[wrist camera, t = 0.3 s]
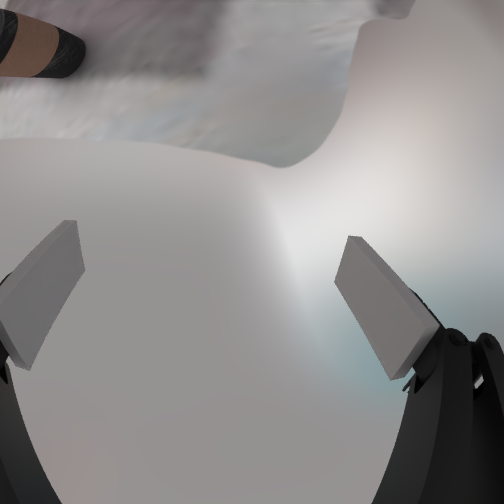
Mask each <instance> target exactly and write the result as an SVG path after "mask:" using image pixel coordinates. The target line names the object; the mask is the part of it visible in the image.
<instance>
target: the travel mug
mask: <svg viewBox="0 0 504 504" xmlns="http://www.w3.org/2000/svg"><path fill="white" fill-rule="evenodd" d="M84 55H85V45H84V43H83V41H82V40H81V39H80V38H78V37H76V36H75V35H73V34H71V33H69V32H67V31H65V30H63V29H60V28H58V27H56V26H54V25H52V24H49V23H46V22H44V21H41V20H38V19H35V18H32V17H29V16H25V15H22V14H19V13H15V12H12V11H8V10H4V9H0V76H8V77H36V78H64V77H67V76H69V75H70V74H72V73H73V72H74V71H75V70H76V69H77V68H78V67H79V66H80V64H81V62H82V60H83V58H84Z"/></svg>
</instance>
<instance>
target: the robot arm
mask: <svg viewBox="0 0 504 504" xmlns="http://www.w3.org/2000/svg"><path fill="white" fill-rule="evenodd" d="M84 271H85V267H84V262H83V257H82V252H81V246H80V240H79V235H78V227H77V221H76V220H64V221H63V222H62V223H60V224H59V225H58V226H57V227H56V228H55V229H54V230H53V231H52V232H51V233H50V234H49V235H48V236H46V238H44V239H43V240H42V241H41V242H40V244H38V245H37V246H36V247H35V248H34V249H33V250H32V251H31V252H30V253H29V254H28V255H27V257H26V258H25V259H24V260H23V261H22V262H21V263H20V264H19V265H18V266H17V267H16V269H15V270H14V271H13V272H11V273H10V274H8V275H7V276H6V277H5V278H4V279H3V280H2V282H1V283H0V504H62V503H61V502H60V500H59V498H58V496H57V495H56V493H55V491H54V489H53V488H52V486H51V484H50V482H49V480H48V479H47V476H46V474H45V472H44V470H43V468H42V466H41V464H40V462H39V459H38V457H37V455H36V453H35V450H34V448H33V446H32V443H31V440H30V438H29V435H28V432H27V430H26V427H25V424H24V421H23V418H22V415H21V412H20V408H19V405H18V402H17V398H16V394H15V391H14V387H13V382H12V378H11V374H10V369H9V366H8V364H7V363H6V360H7V358H8V356H10V358H11V360H12V361H13V363H14V364H15V366H17V367H20V368H23V369H26V370H30V369H31V367H32V365H33V362H34V360H35V358H36V356H37V354H38V352H39V350H40V348H41V346H42V344H43V342H44V340H45V338H46V336H47V334H48V332H49V330H50V328H51V326H52V325H53V323H54V320H55V319H56V317H57V316H58V314H59V312H60V310H61V309H62V307H63V305H64V303H65V302H66V300H67V298H68V297H69V295H70V293H71V292H72V290H73V289H74V287H75V285H76V284H77V282H78V281H79V279H80V278H81V276H82V274H83V273H84ZM334 282H335V284H336V286H337V287H338V289H339V291H340V292H341V294H342V296H343V297H344V299H345V301H346V302H347V304H348V306H349V308H350V309H351V311H352V312H353V314H354V316H355V318H356V320H357V321H358V323H359V325H360V326H361V328H362V330H363V332H364V333H365V335H366V337H367V339H368V341H369V342H370V344H371V346H372V348H373V350H374V351H375V353H376V355H377V357H378V359H379V360H380V362H381V364H382V366H383V368H384V370H385V372H386V374H387V376H388V377H389V379H390V381H391V380H394V379H399V378H402V377H405V376H406V374H407V373H408V372H409V370H410V369H411V368H412V367H413V369H414V370H415V372H416V373H415V374H414V375H413V376H412V378H411V379H410V380H409V381H408V383H407V384H406V385H405V386H404V388H403V390H402V391H405V390H406V389H407V388H408V387H409V386H410V388H409V391H408V398H407V402H406V406H405V410H404V415H403V418H402V422H401V426H400V430H399V433H398V436H397V439H396V442H395V446H394V449H393V452H392V455H391V458H390V460H389V463H388V466H387V468H386V471H385V474H384V476H383V479H382V481H381V484H380V486H379V488H378V491H377V493H376V496H375V497H374V500H373V502H372V504H504V354H503V351H502V349H501V346H500V344H499V342H498V341H497V340H496V339H495V337H494V336H492V335H491V334H488V333H481V334H480V336H479V337H478V339H477V340H476V342H472V341H469V340H468V339H467V338H466V336H465V335H463V333H462V332H460V331H458V330H457V329H453V328H447V329H445V328H444V326H443V325H442V324H441V323H440V321H439V320H438V319H437V317H436V316H435V315H434V314H433V313H432V311H431V310H430V309H428V307H427V305H426V304H425V303H423V301H422V299H420V297H419V296H418V295H417V294H416V293H415V292H414V291H412V290H411V289H410V288H408V287H407V285H406V284H405V283H404V282H403V281H402V280H401V279H400V277H399V276H398V275H397V274H396V273H395V272H394V271H393V270H392V269H391V267H390V266H389V265H388V264H387V263H386V262H385V261H384V260H383V259H382V258H381V257H380V256H379V255H378V254H377V253H376V252H375V250H373V248H372V247H371V246H370V245H369V244H367V242H366V241H365V240H364V239H363V238H362V237H357V236H348V239H347V243H346V246H345V250H344V253H343V256H342V259H341V262H340V266H339V269H338V272H337V275H336V278H335V281H334ZM481 376H483V380H484V381H483V382H482V384H481V385H480V386H479V387H478V388H477V389H476V388H475V386H474V384H475V383H476V382H477V381H478V379H479V378H480V377H481Z"/></svg>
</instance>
